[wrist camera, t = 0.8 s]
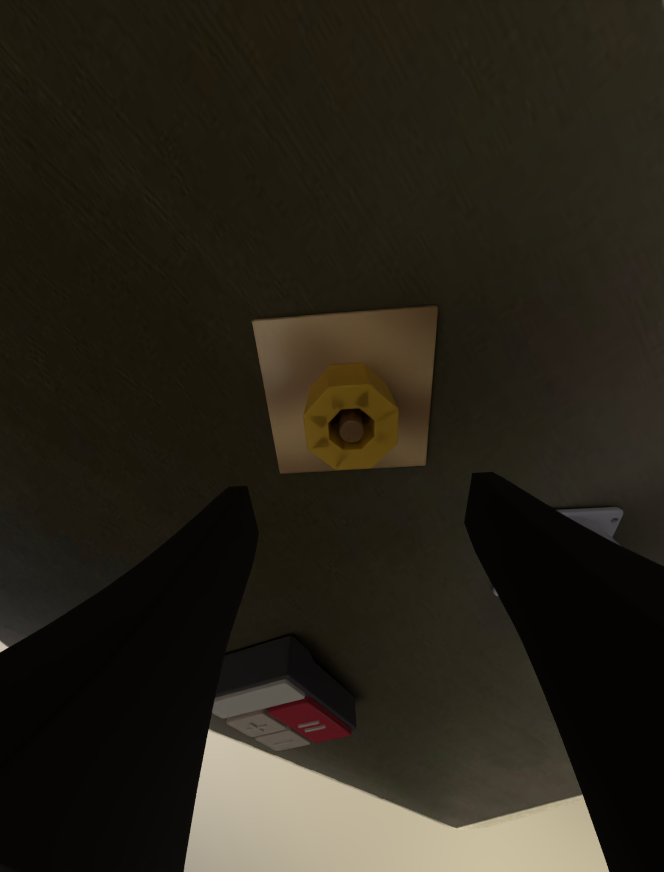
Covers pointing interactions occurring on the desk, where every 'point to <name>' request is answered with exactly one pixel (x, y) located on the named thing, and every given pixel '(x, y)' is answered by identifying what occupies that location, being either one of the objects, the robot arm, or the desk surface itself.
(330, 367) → the sleeve
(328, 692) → the calculator
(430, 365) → the stand
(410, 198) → the desk surface
